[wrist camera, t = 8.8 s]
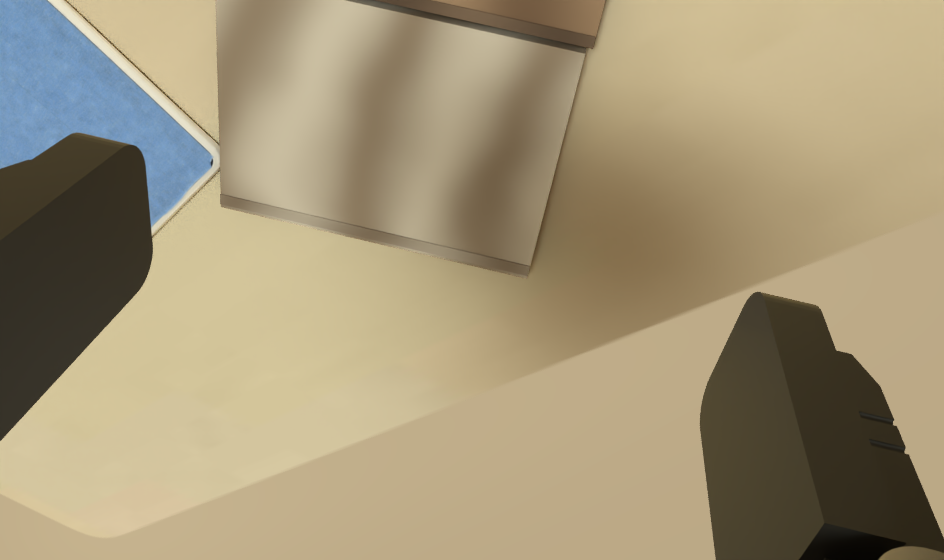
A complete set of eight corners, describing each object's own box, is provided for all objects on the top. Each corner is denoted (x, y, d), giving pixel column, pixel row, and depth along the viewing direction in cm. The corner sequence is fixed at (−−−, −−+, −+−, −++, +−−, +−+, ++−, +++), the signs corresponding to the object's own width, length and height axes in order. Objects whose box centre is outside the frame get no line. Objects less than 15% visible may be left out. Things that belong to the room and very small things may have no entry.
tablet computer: (-182, 23, 40) (-204, 30, 39) (-92, -162, 34) (-115, -159, 33) (118, 270, 46) (106, 282, 45) (238, 150, 40) (228, 161, 39)
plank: (586, 43, 34) (585, 54, 33) (529, 262, 41) (526, 279, 39) (229, -37, 34) (213, -29, 33) (233, 193, 41) (220, 207, 40)
